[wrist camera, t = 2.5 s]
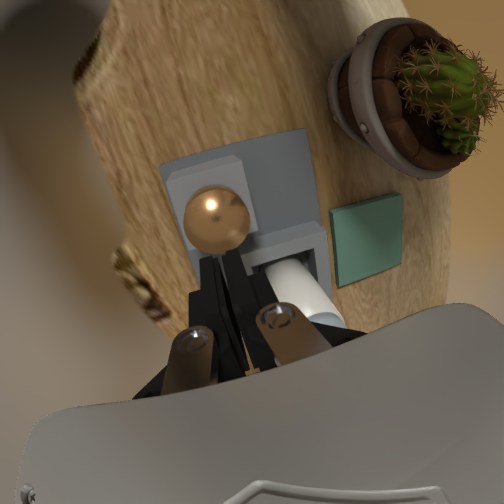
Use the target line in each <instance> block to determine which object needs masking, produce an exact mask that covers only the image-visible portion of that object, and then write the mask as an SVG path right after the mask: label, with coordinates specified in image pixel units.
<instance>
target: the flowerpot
mask: <svg viewBox="0 0 504 504" xmlns="http://www.w3.org/2000/svg"><path fill="white" fill-rule="evenodd" d="M459 46H461V45H458V46H456V45H455V44H454V43H453V42H452V41H449V40H448V39H446V38H444V37H442V35H441V34H439V33H438V32H437V31H436V30H435V29H433V28H432V27H431V26H429V25H427V24H426V23H424V22H422V21H419V20H416V19H412V18H390V19H385V20H382V21H379V22H377V23H375V24H373V25H372V26H370V27H369V28H367V29H366V30H365V31H364V32H363V33H362V34H361V35H360V36H358V37H357V43H356V45H355V47H352V48H350V49H349V50H347V51H345V52H344V53H343V54H342V55H340V56H339V58H338V59H337V60H335V61H332V66H333V67H332V68H331V70H330V73H329V77H328V84H327V94H328V101H329V106H330V109H331V112H332V115H333V119H334V121H335V122H337V124H338V125H339V127H340V128H341V129H342V130H343V131H344V132H345V133H346V134H347V135H348V136H349V137H350V138H351V139H353V140H354V141H356V142H357V143H359V144H360V145H362V146H363V147H365V148H367V149H369V150H371V151H375V152H376V153H378V155H379V156H380V157H381V158H383V159H384V160H385V161H386V162H387V163H389V164H390V165H391V166H393V167H394V168H396V169H397V170H399V171H401V172H403V173H405V174H407V175H410V176H412V177H416V178H417V180H418V181H423V179H433V178H439V177H442V176H443V175H445V174H447V173H448V172H450V171H451V170H452V168H454V167H456V166H458V165H459V164H460V162H463V161H465V160H466V159H467V158H468V157H469V156H470V154H471V152H472V150H475V149H476V148H475V147H476V145H475V143H476V141H479V140H481V139H480V138H482V137H479V136H478V132H479V125H480V118H479V116H478V115H482V116H483V117H484V123H485V120H486V117H487V118H488V117H489V116H490V117H491V116H493V115H490V113H489V112H488V110H489V109H488V108H491V107H495V109H496V107H497V106H498V105H496V106H493V103H494V104H497V103H495V102H496V101H497V102H498V103H499V102H504V101H498V100H497V98H496V97H499V96H500V95H501V94H502V93H503V92H499V91H504V90H496V89H495V87H493V85H500V84H496V83H497V82H495V83H494V80H495V78H496V72H495V76H494V78H493V80H492V78H490V77H489V78H490V79H489V78H488V77H487V76H485V75H484V74H485V73H491V72H485V71H486V70H487V69H488V66H487V68H486V69H485V70H484V71H482V70H481V68H482V62H481V67H479V63H477V61H479V59H480V60H481V58H479V59H477V57H478V56H477V57H476V59H475V55H474V57H473V59H468V58H467V57H466V56H465V55H467V54H465V53H464V54H463V53H462V52H461V51H463V50H461V51H460V50H458V48H457V47H459ZM470 53H471V52H470ZM473 54H474V53H473ZM478 55H479V53H478ZM483 73H484V74H483ZM486 77H487V78H488V79H487V78H486ZM488 80H489V81H488ZM491 82H492V83H491ZM491 88H493V89H491ZM490 91H494V92H496V94H497V95H498V94H499V93H501V94H500V95H499V96H497V95H496V96H494V95H493V93H491V92H490ZM497 92H498V93H497ZM503 94H504V93H503ZM493 98H494V99H493ZM490 101H491V103H492V104H490ZM489 105H491V106H489ZM499 105H500V107H501V108H502V106H501V104H500V103H499ZM502 110H503V108H502ZM486 111H487V112H488V113H489V115H487V116H486V114H488V113H487V112H486ZM489 111H490V110H489ZM490 112H493V111H490ZM493 113H496V112H493ZM489 119H490V118H489ZM490 120H492V119H490ZM488 122H489V121H488ZM489 123H490V122H489ZM490 124H491V123H490ZM491 125H492V124H491ZM482 139H483V138H482ZM481 141H482V140H481ZM483 142H484V141H483ZM477 150H478V149H477ZM475 152H476V151H475ZM471 156H472V155H471Z"/></svg>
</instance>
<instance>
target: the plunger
mask: <svg viewBox="0 0 504 504" xmlns="http://www.w3.org/2000/svg"><path fill="white" fill-rule="evenodd" d="M183 227H184V232H185V235H186V237H187V239H188V240H189V242H190V243H191V244H192V245H193V246H194V247H196V248H197V249H199V250H200V251H203V252H205V253H209V254H222V253H226V252H225V251H228V250H231V249H234V248H236V247H238V246H239V245H240V244H241V243H242V242H243V241H244V239H245V238H246V236H247V234H248V232H249V228H250V214H249V211H248V209H247V207H246V205H245V203H244V202H243V200H242V199H241V197H240V196H239V194H238V193H237V192H235V191H234V190H233V189H231V188H229V187H227V186H224V185H219V184H213V185H207V186H204V187H202V188H200V189H198V190H197V191H196V192H194V193H193V194H192V196H191V197H190V198H189V200H188V202H187V204H186V207H185V212H184V219H183Z"/></svg>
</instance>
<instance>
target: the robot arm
mask: <svg viewBox="0 0 504 504" xmlns="http://www.w3.org/2000/svg"><path fill="white" fill-rule="evenodd" d="M225 252H226V255H223V256H221V257H222V262H223V266H224V271H225V276H226V280H227V284H226V281H225V278H224V275H223V272H222V269H221V266H220V263H219V260H218V257H216V258H213V257H212V255H211V256H207V257H204V258H201V259H199V267H200V287H201V290H197V291H194V292H190V293H189V328H187V329H185V330H183V331H182V332H180V333H179V334H178V335H177V336H176V337H175V338H174V340H173V343H172V346H171V350H170V354H169V359H168V363H167V365H166V366H165V368H163V369H162V370H161V371H160V372H159V373H158V374H157V375H156V376H155V377H154V378H153V379H152V380H151V381H150V382H149V383H148V384H147V385H146V386H145V387H144V388H143V389H142V390H140V392H138V393H137V394H136V395H135V397H134V398H133V399H132V400H128V401H120V402H111V403H103V404H95V405H87V406H78V407H73V408H68V409H64V410H61V411H57V412H54V413H52V414H50V415H48V416H46V417H44V418H42V419H41V420H39V421H38V422H37V423H36V424H35V425H34V426H33V428H32V430H31V431H30V434H29V436H28V439H27V441H26V444H25V448H24V451H23V455H22V459H21V463H20V468H19V473H18V478H17V484H16V493H15V502H14V504H504V325H503V324H502V323H500V322H499V321H498V320H497V319H495V318H494V317H493V316H491V315H490V314H489V313H487V312H485V311H484V310H482V309H480V308H478V307H476V306H474V305H471V304H466V303H452V304H446V305H439V306H436V307H432V308H428V309H425V310H422V311H419V312H417V313H414V314H411V315H409V316H407V317H405V318H402V319H400V320H398V321H396V322H393V323H391V324H389V325H386V326H384V327H381V328H379V329H377V330H375V331H372V332H370V333H364V332H361V331H356V330H351V329H345V328H340V327H335V326H330V325H326V324H321V323H316V322H311V321H309V319H308V318H307V317H306V316H305V315H304V314H303V313H302V312H301V310H300V309H299V308H298V307H297V306H295V305H294V304H291V303H289V302H279V300H278V298H277V296H276V294H275V292H274V290H273V288H272V286H271V284H270V282H269V280H268V277H267V275H266V273H265V271H262V272H259V273H255V274H252V275H249V276H248V275H247V273H246V270H245V267H244V264H243V261H242V259H241V256H240V253H239V250H238V248H234V249H231V250H228V251H225ZM227 285H228V287H227ZM240 331H241V332H240ZM241 334H242V336H241ZM242 337H243V339H244V342H245V345H246V348H247V351H248V353H249V356H250V359H251V361H252V364H253V367H254V369H255V368H259V369H260V371H261V372H258V373H255V374H251V375H248V376H246V374H245V371H248V370H250V368H249V364H248V360H247V356H246V352H245V348H244V344H243V340H242Z"/></svg>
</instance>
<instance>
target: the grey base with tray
mask: <svg viewBox="0 0 504 504" xmlns="http://www.w3.org/2000/svg"><path fill="white" fill-rule="evenodd" d="M159 169H160V172H161V176H162V179H163V182H164V185H165V188H166V191H167V194H168V198H169V201H170V204H171V207H172V210H173V213H174V216H175V219H176V221H177V224H178V227H179V230H180V233H181V236H182V239H183V241H184V244H185V247H186V250H187V253H188V255H189V258H190V261H191V263H192V266H193V269H194V271H195V274H196V277H197V279H198V282H199V285H200V267H199V259H201V258H204V257H207V256H211V255H212V257H213V258H216V257H218V260H219V263H220V266H221V269H222V272H223V275H224V278H225V281H226V284H227V280H226V276H225V271H224V266H223V262H222V257H221V256H223V255H226V253H222V254H209V253H205V252H203V251H200V250H199V249H197V248H196V247H194V246H193V245H192V244H191V243H190V242H189V240H188V239H187V237H186V235H185V232H184V227H183V219H184V212H185V207H186V204H187V202H188V200H189V198H190V197H191V196H192V194H193V193H194V192H196V191H197V190H198V189H200V188H202V187H204V186H207V185H213V184H219V185H224V186H227V187H229V188H231V189H233V190H234V191H235V192H237V193H238V194H239V196H240V197H241V199H242V200H243V202H244V203H245V205H246V207H247V209H248V211H249V214H250V228H249V232H248V234H247V236H246V238H245V239H244V241H243V242H242V243H241V244H240V245H239V246H238V247H236V248H238V250H239V253H240V256H241V259H242V261H243V264H244V267H245V270H246V273H247V275H248V276H249V275H252V274H255V273H259V267H260V265H261V264H262V263H265V262H269V261H272V260H276V259H279V258H282V257H286V256H289V255H292V254H296V255H297V256H298V257H299V258H300V260H301V261H302V262H303V264H304V265H305V266H306V268H307V269H308V270H309V272H310V273H311V274H312V276H313V277H314V279H315V280H316V281H317V283H318V284H319V285H320V287H321V288H322V289H323V291H324V292H325V294H326V295H327V296H328V298H329V299H330V300H331V302H332V303H333V299H332V285H331V273H330V262H329V252H328V243H327V234H326V230H325V229H324V228H323V227H322V224H321V216H320V209H319V202H318V195H317V189H316V183H315V176H314V170H313V164H312V159H311V153H310V148H309V142H308V137H307V132H306V129H297V130H291V131H286V132H281V133H276V134H271V135H266V136H262V137H257V138H253V139H249V140H244V141H240V142H236V143H232V144H228V145H224V146H221V147H217V148H213V149H210V150H206V151H203V152H199V153H196V154H192V155H189V156H186V157H182V158H179V159H176V160H173V161H170V162H167V163H164V164H161V165H159ZM227 287H228V285H227Z"/></svg>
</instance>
